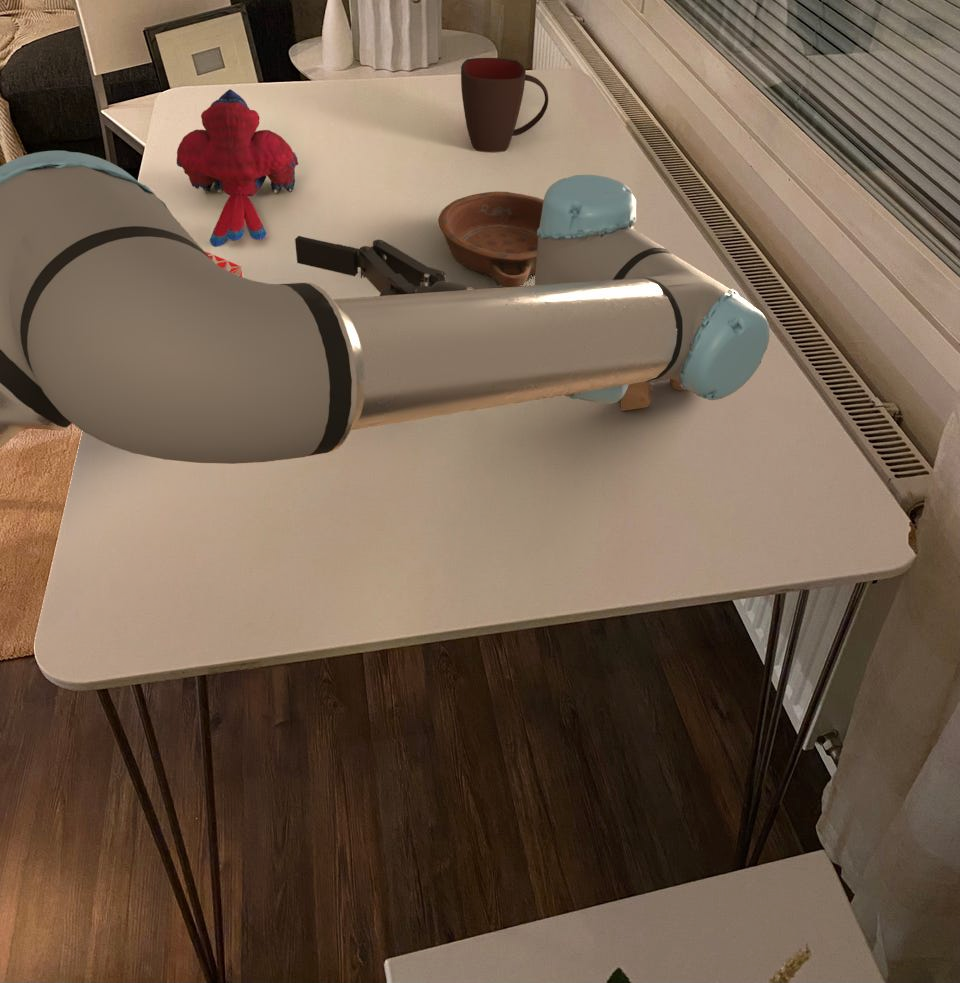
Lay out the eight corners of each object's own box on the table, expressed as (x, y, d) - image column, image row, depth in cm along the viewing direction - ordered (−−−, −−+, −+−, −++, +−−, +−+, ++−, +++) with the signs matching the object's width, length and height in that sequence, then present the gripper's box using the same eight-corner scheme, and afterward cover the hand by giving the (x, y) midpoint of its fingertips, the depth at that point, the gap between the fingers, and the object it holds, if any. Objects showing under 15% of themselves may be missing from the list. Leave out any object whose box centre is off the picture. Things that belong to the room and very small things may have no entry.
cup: (458, 132, 160) (460, 56, 152) (541, 134, 161) (547, 58, 152) (460, 157, 152) (462, 79, 144) (547, 159, 153) (554, 81, 145)
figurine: (300, 105, 140) (287, 83, 122) (306, 247, 144) (294, 246, 127) (189, 104, 138) (160, 82, 121) (200, 247, 143) (173, 246, 126)
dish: (439, 297, 121) (440, 262, 118) (436, 216, 137) (436, 182, 134) (577, 298, 122) (582, 263, 119) (557, 217, 138) (561, 184, 135)
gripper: (416, 439, 83) (200, 381, 88) (509, 299, 100) (325, 257, 105) (416, 367, 78) (186, 309, 83) (514, 233, 95) (320, 192, 100)
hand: (264, 280), depth 94 cm, fingers open, 13 cm apart
